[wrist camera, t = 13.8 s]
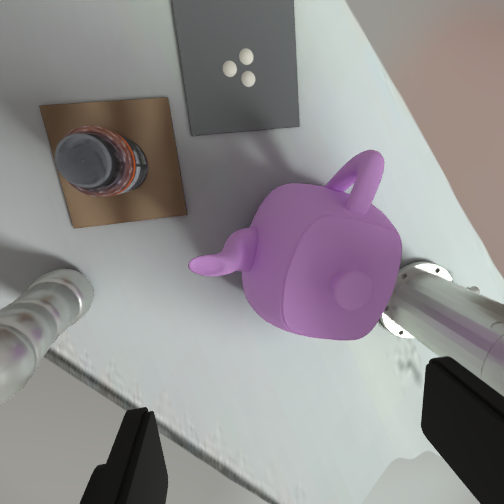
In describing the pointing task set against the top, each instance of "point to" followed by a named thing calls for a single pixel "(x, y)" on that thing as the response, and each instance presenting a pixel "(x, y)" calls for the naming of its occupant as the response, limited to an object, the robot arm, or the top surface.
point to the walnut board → (145, 136)
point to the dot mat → (238, 64)
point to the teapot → (317, 255)
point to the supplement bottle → (100, 161)
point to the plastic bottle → (38, 324)
